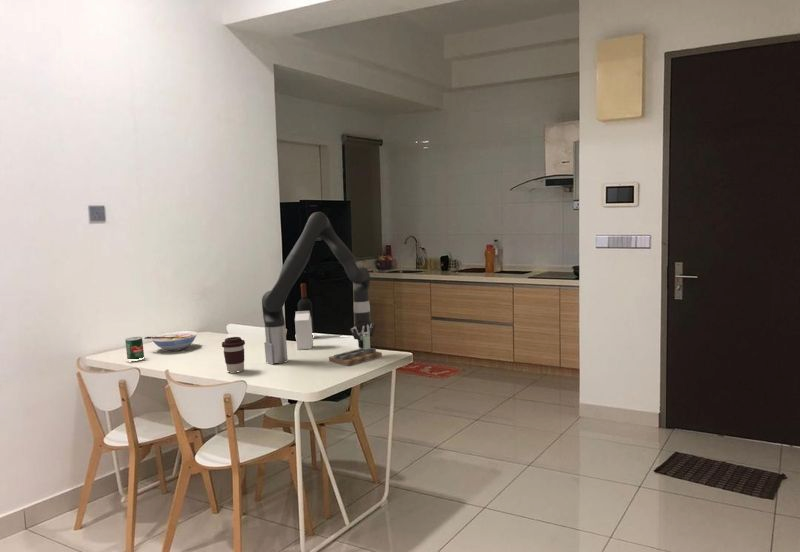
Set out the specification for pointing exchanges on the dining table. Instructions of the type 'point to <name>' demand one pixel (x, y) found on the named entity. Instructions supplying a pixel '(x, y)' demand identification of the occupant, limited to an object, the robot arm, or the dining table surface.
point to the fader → (365, 342)
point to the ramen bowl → (174, 340)
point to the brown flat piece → (355, 356)
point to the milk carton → (303, 330)
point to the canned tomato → (134, 348)
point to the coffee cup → (234, 353)
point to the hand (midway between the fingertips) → (364, 346)
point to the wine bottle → (305, 303)
